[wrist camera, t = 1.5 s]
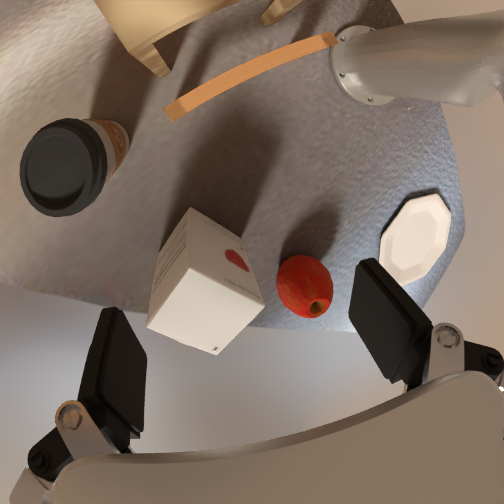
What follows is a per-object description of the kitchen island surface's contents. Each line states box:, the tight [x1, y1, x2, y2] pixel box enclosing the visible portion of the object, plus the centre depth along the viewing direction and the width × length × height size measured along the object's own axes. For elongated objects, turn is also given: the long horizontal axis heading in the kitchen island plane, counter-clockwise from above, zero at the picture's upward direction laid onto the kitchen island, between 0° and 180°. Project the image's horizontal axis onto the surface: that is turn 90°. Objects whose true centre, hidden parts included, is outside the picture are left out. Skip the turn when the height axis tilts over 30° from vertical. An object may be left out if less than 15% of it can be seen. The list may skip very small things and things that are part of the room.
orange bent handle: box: [163, 31, 339, 122], centre depth 24 cm, size 18×2×10 cm, turn 118°
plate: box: [378, 193, 451, 286], centre depth 47 cm, size 20×20×2 cm
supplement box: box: [146, 207, 265, 355], centre depth 32 cm, size 9×9×15 cm
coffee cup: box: [20, 118, 129, 217], centre depth 22 cm, size 8×8×15 cm
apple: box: [276, 255, 333, 318], centre depth 39 cm, size 8×8×11 cm
